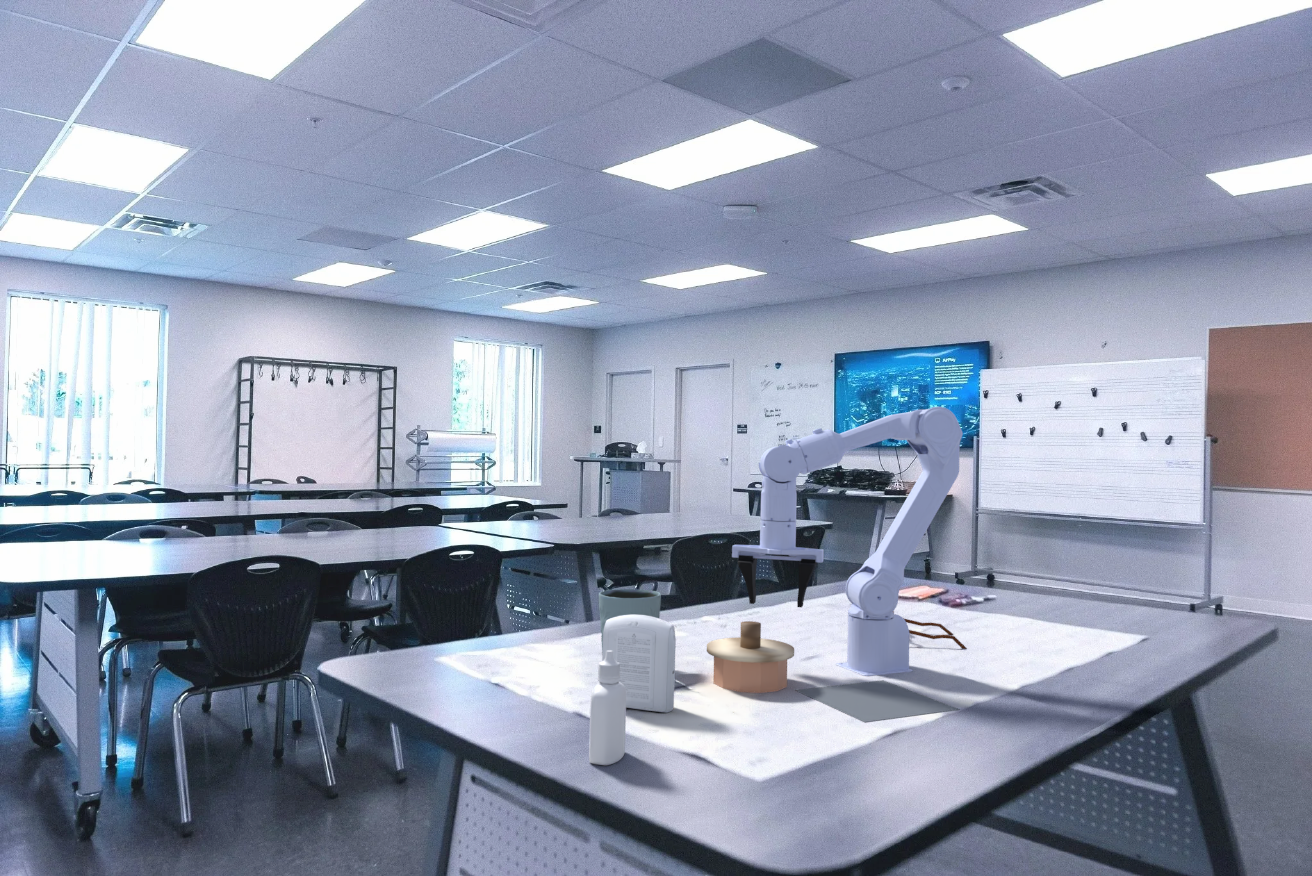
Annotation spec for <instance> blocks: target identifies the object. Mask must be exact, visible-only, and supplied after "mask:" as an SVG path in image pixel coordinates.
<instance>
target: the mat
mask: <svg viewBox="0 0 1312 876" xmlns="http://www.w3.org/2000/svg"><path fill="white" fill-rule="evenodd" d="M794 691H795V692H797V693H800V694H802V695H804V696H806V697H808V698H810V699H812V700H814V701H817V702H819V703H822V704H823V705H825V706H828V707H829V708H832V709H834V710H837V711H839V712H840V713H843V714H846V715H847V716H850V717H851V718H854V719H855V720H858V721H860V722H862V723H872V722H880V721H885V720H893V719H899V718H900V719H902V718H909V717H917V716H923V715H924V716H925V715H930V714H937V713H946V712H953V711H960V710H961V709H960V708H958V707H955V706H953V705H950V704H947V703H945V702H942V701H940V700H937V699H934V698H932V697H929V696H927V695H924V694H921V693H918V692H915V691H914V690H911V689H907V688H905V687H902V686H900V685H897V684H895V683H892V682H889V681H886V680H884V679H882V680H880V679H879V680H873V681H863V682H855V683H846V684H845V683H844V684H838V685H837V684H836V685H835V684H834V685H828V686H827V685H826V686H819V687H810V688H800V689H795V690H794Z"/></svg>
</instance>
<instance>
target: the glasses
mask: <svg viewBox="0 0 1312 876" xmlns="http://www.w3.org/2000/svg"><path fill="white" fill-rule="evenodd" d="M893 612H894V613H895V610H894V611H893ZM902 618H903V619H904V620H905V621H906V623H907V624H912V625H916V626H920V627H929V626H931V627H939V628H940V629H941V630H943V631H944V632H945V633H946V634H937V635H933V634H930V633H929V634H928V633H924V632H920V631H916V630H912V629H909V635H915V636H918V637H923V638H928V639H932V640H937V639H951V640H953V642H954V643H956V644H957V645H958V646H959V647H960V648H961V649H963V650H964V649H965V650H966V649H968V648H967V646H965V644H963V643H962V642H961V641H960V640H959V639H958V638H957V637H956V636H955V635H954V633H952V632H951V631H950V629H948V628H947V627H945V626H944V625H943V624H942V623H937V622H920V621H917V620H911V619H908V618H904V617H902Z"/></svg>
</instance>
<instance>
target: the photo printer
mask: <svg viewBox="0 0 1312 876" xmlns="http://www.w3.org/2000/svg"><path fill="white" fill-rule="evenodd" d="M675 629H676V628H675V625H674V624H672V623H671V622H669V621H667V620H664V619H661V618H660V617H659V618H655V617H651V616H646V615H623V616H617V617H614V618H610V619H608V620H607V621H606V623H605V626H604V632H603V657H602V658H601V662H602V661H603V660H604V659H605V656H606V651H607V650H612V651H613V656H614V660H615V661H617V662H619V663H620V681H619V682H620V683H622V684H623V685H624V686H625V688H626V709H627V708H628V709H635V710H643V711H650V712H651V711H652V712H659V713H663V714H664V713H670V712H672V711H673V710H674V707H675V706H674V704H675V677H676V675H675V674H676V673H675V672H676V647H677V646H676V645H677V644H676V643H677V639H676V630H675Z"/></svg>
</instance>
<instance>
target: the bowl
mask: <svg viewBox="0 0 1312 876" xmlns="http://www.w3.org/2000/svg"><path fill="white" fill-rule="evenodd" d="M712 684H713V685H715V686H716V687H719V688H721V689H723V690H729V691H733V692H738V693H753V694H756V693H757V694H763V693H764V694H765V693H771V692H779V691H781V690H784V689H785V688H787V687H788V660H784V661H778V662H765V663H753V662H739V661H731V660H726V659H721V658H717V657H714V656H713V683H712Z"/></svg>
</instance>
